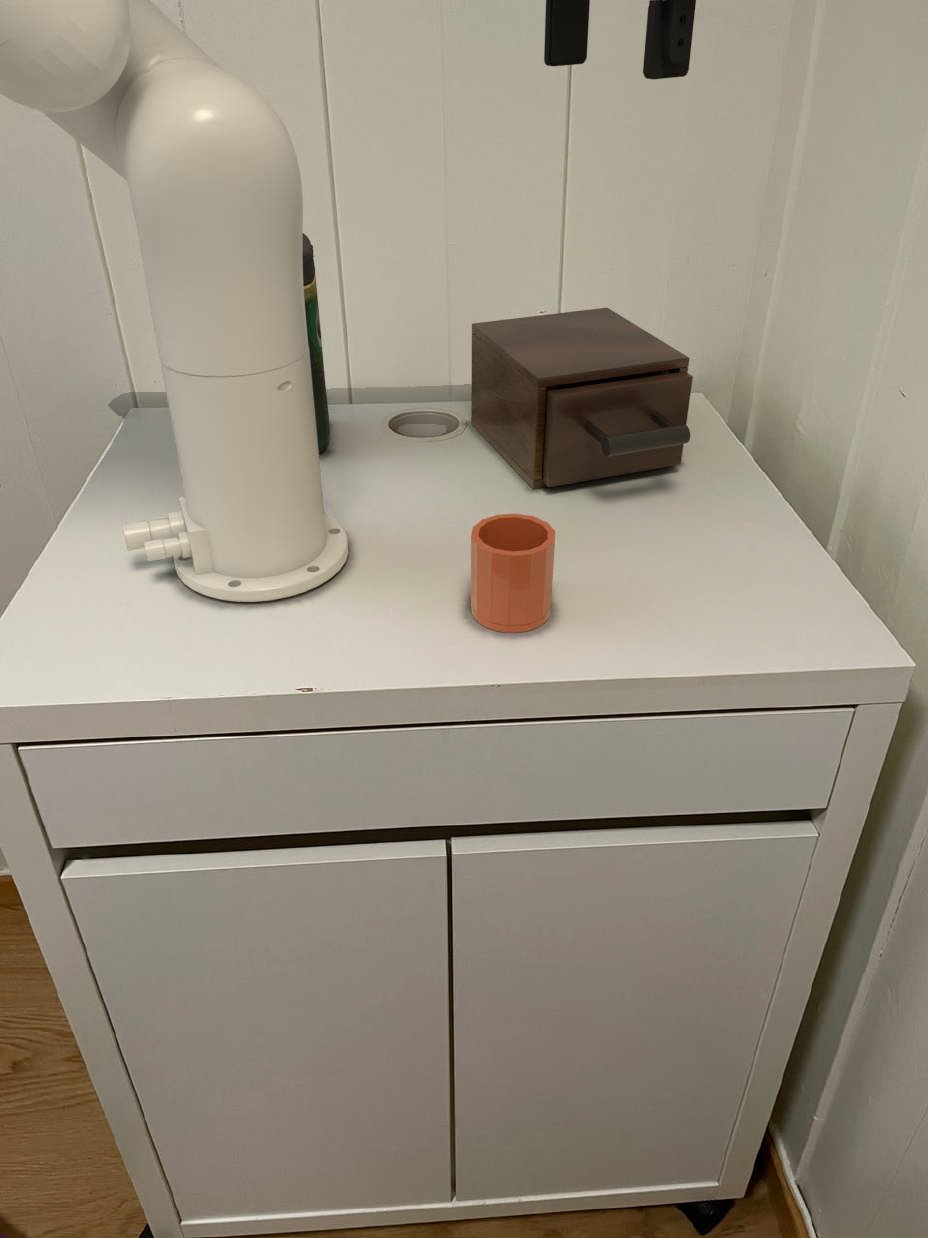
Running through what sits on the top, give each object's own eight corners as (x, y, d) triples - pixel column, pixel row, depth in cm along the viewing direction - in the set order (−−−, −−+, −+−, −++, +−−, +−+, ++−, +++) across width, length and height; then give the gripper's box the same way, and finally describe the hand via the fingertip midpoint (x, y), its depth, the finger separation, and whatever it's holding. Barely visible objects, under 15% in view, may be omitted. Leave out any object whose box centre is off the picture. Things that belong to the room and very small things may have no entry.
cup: (488, 640, 64) (490, 561, 60) (459, 597, 68) (459, 521, 65) (564, 623, 65) (569, 546, 62) (530, 582, 70) (534, 507, 66)
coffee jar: (244, 422, 93) (216, 216, 82) (328, 417, 94) (311, 213, 83) (241, 466, 85) (209, 244, 75) (332, 460, 86) (314, 240, 76)
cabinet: (675, 464, 85) (690, 357, 80) (533, 489, 81) (537, 378, 76) (599, 404, 97) (607, 307, 91) (471, 423, 93) (471, 323, 87)
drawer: (711, 488, 80) (725, 396, 75) (574, 513, 76) (580, 419, 72) (607, 406, 94) (615, 326, 89) (487, 425, 90) (489, 341, 86)
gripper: (488, -273, 57) (487, 64, 67) (701, -333, 45) (662, 88, 55) (588, -262, 60) (574, 57, 70) (811, -316, 48) (756, 78, 58)
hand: (612, 70), depth 62 cm, fingers open, 9 cm apart
